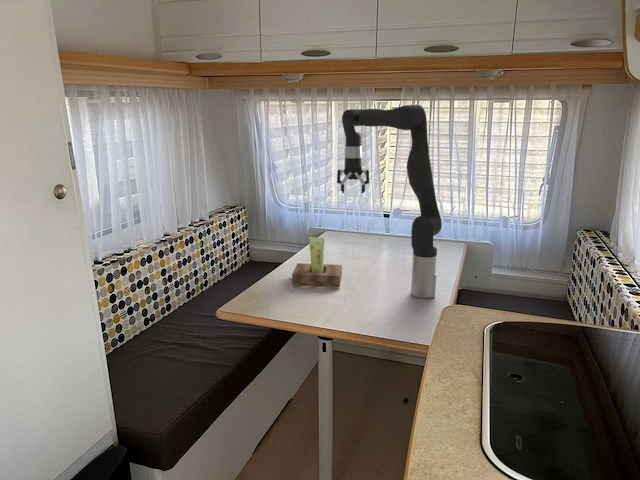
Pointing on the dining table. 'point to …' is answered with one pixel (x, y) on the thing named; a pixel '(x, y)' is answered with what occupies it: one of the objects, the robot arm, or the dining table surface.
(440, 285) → the dining table surface
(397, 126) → the robot arm
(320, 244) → the tube
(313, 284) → the slotted block
